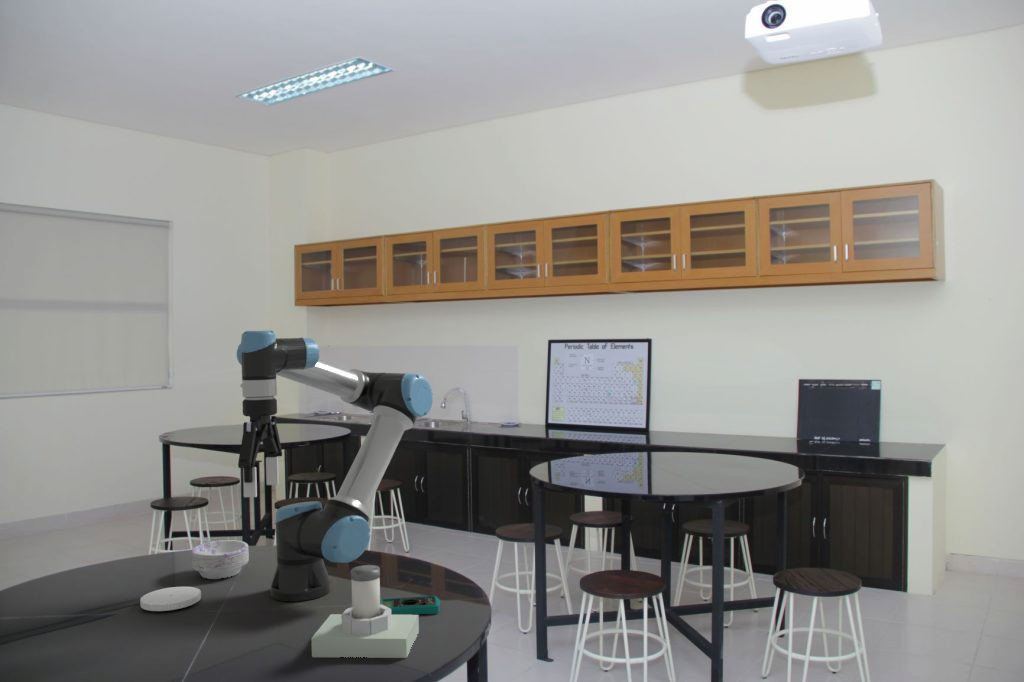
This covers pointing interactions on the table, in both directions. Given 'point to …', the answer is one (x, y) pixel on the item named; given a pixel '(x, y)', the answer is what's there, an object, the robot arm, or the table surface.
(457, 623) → the table surface
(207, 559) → the paper bowls
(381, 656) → the octagonal ring base plate
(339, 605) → the table surface
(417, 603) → the digital multimeter
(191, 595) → the plastic lid
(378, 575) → the white grey-capped cylinder
